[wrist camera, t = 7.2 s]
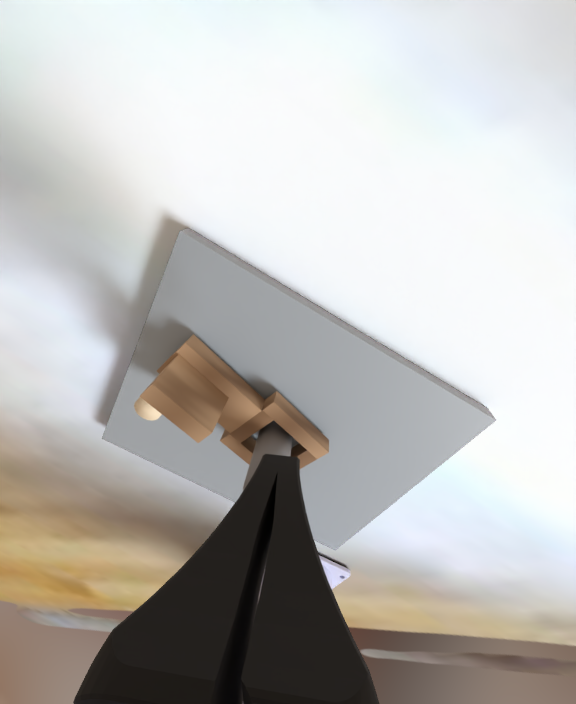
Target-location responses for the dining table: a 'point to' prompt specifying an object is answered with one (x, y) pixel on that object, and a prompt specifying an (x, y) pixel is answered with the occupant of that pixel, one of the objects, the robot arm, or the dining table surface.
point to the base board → (291, 392)
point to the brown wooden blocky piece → (225, 404)
